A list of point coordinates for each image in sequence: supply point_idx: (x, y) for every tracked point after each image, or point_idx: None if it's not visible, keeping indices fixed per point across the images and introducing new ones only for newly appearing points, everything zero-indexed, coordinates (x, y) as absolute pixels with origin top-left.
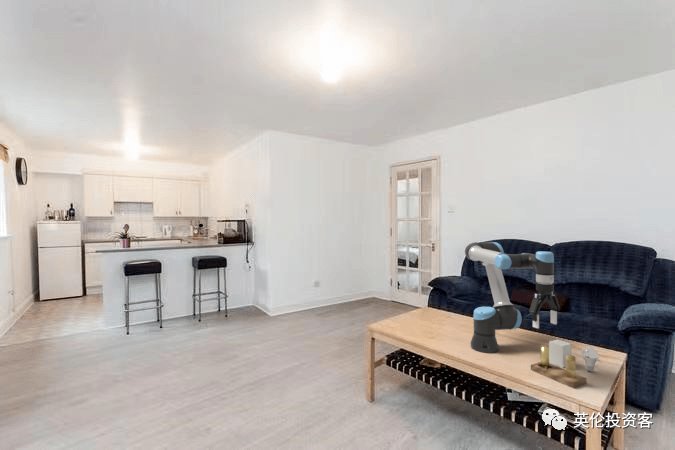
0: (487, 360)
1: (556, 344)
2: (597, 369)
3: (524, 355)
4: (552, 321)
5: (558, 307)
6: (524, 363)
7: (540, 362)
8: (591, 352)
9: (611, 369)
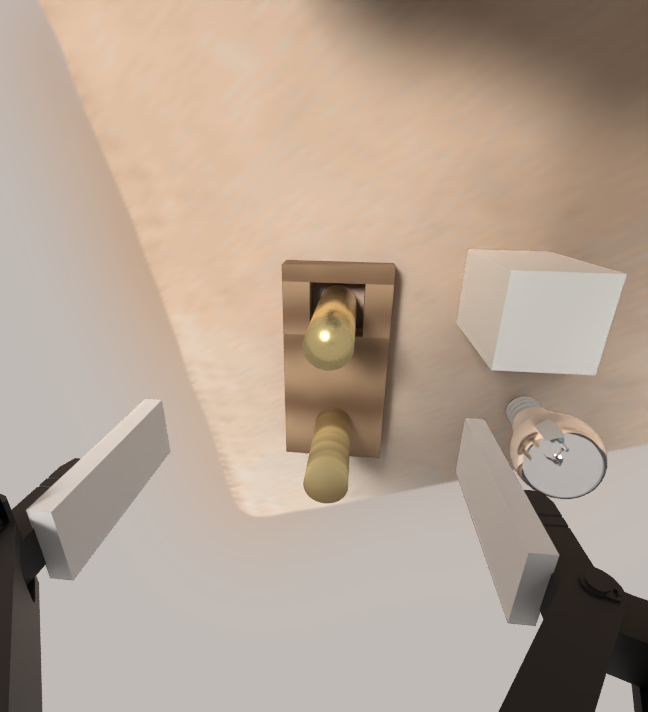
0: (154, 38)
1: (498, 327)
2: (578, 408)
3: (446, 100)
4: (467, 454)
5: (639, 702)
6: (329, 190)
7: (360, 271)
8: (535, 486)
9: (632, 437)
